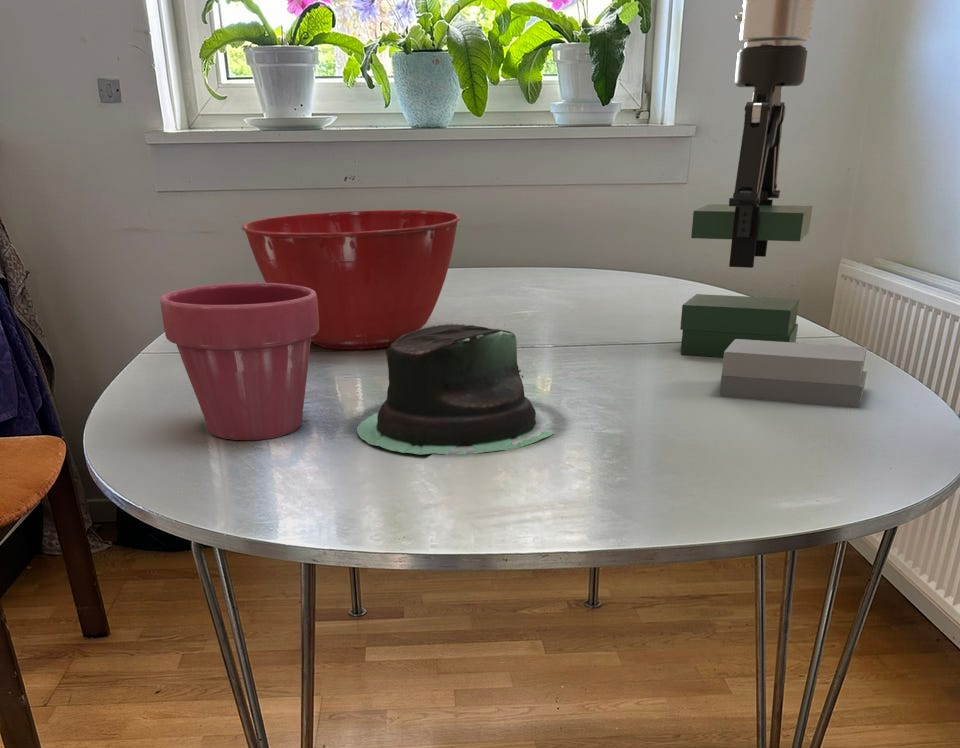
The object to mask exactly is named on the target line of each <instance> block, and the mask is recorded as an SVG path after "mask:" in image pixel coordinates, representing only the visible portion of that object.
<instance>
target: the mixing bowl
mask: <svg viewBox="0 0 960 748" xmlns="http://www.w3.org/2000/svg"><path fill="white" fill-rule="evenodd" d="M460 220H461V216H460V214H457V213H455V212H450V211H441V210H426V209H377V210H376V209H375V210H374V209H373V210H347V211H330V212H329V211H328V212H315V213H303V214H292V215H283V216H274V217H268V218H262V219H256V220H252V221H248V222H246V223H244V224H243V225H241V229H242V231H243V232H245V235H246V238H247V242H248V243H249V246H250V249H251V252H252V254H253V257H254V259H255V262H256V264H257V267H258V269H259V272H260V273H261V275H262V278H263V280H264V283H278V284H289V285H297V286H303V287H307V288H310V289H312V290H314V291H315V292H316V295H317V303H318V316H319V331H318V333H317V334H316V335H314V336H312V337H311V342H312V343H314V344H315V345H316V346H318V347H321V348H325V349H333V350H369V349H370V350H372V349H380V348H388V347H390V346H391V343H393V342H395V341H396V340H397V339H398V338H400V337H401V336H403V335H406V334H408V333H410V332H413V331H416V330H420V329H423V328H424V326H425V325H426V324H427V322H428V321H429V319H430V318H431V316H432V314H433V312H434V309H435V308H436V305H437V302H438V300H439V298H440V295H441V292H442V290H443V287H444V283H445V280H446V277H447V274H448V270H449V267H450V263H451V258H452V254H453V249H454V244H455V239H456V233H457V226H458V222H459V221H460Z"/></svg>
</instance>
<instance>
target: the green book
mask: <svg viewBox="0 0 960 748" xmlns="http://www.w3.org/2000/svg"><path fill="white" fill-rule="evenodd" d="M758 206H761V207H760V215H759V224H758V232H757V240H768V242H769V241H772V242H801V241H802V240H803V239H804V238H805V237H806V236H807V235H808V234H809V233H810V227H811V221H812V220H811V219H812V213H813V207H814V206H813V205H787V204H785V205H780V204H777V205H776V204H772V205H758ZM735 207H736V206H729V204H723V203H722V204H721V203H720V204H719V203H718V204H717V203H708V204H706V205H704V206H701V207H700V208H697V209H695V210H693V213H692V222H691V223H692V224H691V233H690V234H691V236H690V237H691V239H699V240H701V239H702V240H703V239H706V240H732V235H733V225H734V216H735Z"/></svg>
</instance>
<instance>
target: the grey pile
mask: <svg viewBox="0 0 960 748" xmlns="http://www.w3.org/2000/svg"><path fill="white" fill-rule="evenodd" d="M867 349H868V347H867V346H856V345H855V346H852V345H841V344H839V345H837V344H825V343H824V344H823V343H807V342H796V343H792V342H776V341H761V340H745V339H735V340H734V341H733V342H732V343H731V345H730V346H729V347H728V348H727V349H726V350H725V351H724V357H722V358H723V359H722V368H721V376H720V385H719V386H720V387H719V395H718V396H719V397H726V398H738V399H750V400H764V401H774V402H784V403H785V402H787V403H797V404H798V403H799V404H809V405H810V404H811V405H820V406H821V405H822V406H832V407H846V408H857V409H859V408H860V406H861V402H862V397H863V394H864V390H865V384H866V378H867V372H868V371H865V370H864V366H865V361H866V355H867V351H868V350H867Z"/></svg>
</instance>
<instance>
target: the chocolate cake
mask: <svg viewBox="0 0 960 748" xmlns="http://www.w3.org/2000/svg"><path fill="white" fill-rule="evenodd" d="M517 344H518V341H517V336H516V334H515V333H514V332H512V331H510V330H505V329H500V328H499V327H496V328H495V327H494V328H489V327H485V326H478V325H473V324H468V325H467V324H464V323H462V324H459V323H452V322H450V323H445V324H437V325H430V326H428V327H422V328H421V329H420V330H416V331H413V332H410V333H408V334H406V335H403V336H401V337H400V338H398V339H397V340H396V341H395V342H393V343H391V346H388V347H387V350H386V352H385V354H386V362H387V369H388V370H387V371H388V387H387V390H386V399H385V401H384V402H383V403H382V405H381V406H380V409H379V410H378V412H376V413H374V414H372V415H371V416H368V417H367V418H365V419H364V420H362V421H361V422H360V423H359V424H358V426H357V427H356V432H357V435H358V437H359V438H360V439H361V440H363V441H365V442H366V443H367V444H368V445H372V446H377V447H381V448H383V449H385V450H388V451H391V452H399V453H403V454H407V453H408V454H414V455H419V456H421V455H429V454H432V455H433V454H439V455H449V454H450V453H451V450H453V449H455V448H459V447H473V448H474V449H473V452H472V454H473V455H477V454H482V453H488V452H489V453H490V452H497V451H508V450H514V449H520V448H522V447H525V446H528V445H531V444H534V443H536V442H538V441H541V440H542V439H546V438H548V437H551V436H552V435H553V434H554V435H555V434H556V432H554V431H552V430H543V431H541V433H540V434H539V435H538V436H532V437H530V438H528V439H527V438H526V439H524V440H522V441H521V442H520V441H519V442H517V444H514V440H515V439H522V438H524V437H525V436H527V435H529V433H531V432H533V431H534V429H535V428H536V425H537V420H536V417H537V415H536V414H537V413H536V412H537V411H536V409H535V407H534V406H533V404H532V402H531V401H530V399H528V397H527V396H525V388H524V383H523V380H522V379H523V378H524V375H523V374H520V373H521V372H522V369H519V368H520V367H519V365H518V345H517ZM455 455H467V451H466V450H464V449H462V450H460V451H458V452H456V453H455Z"/></svg>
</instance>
